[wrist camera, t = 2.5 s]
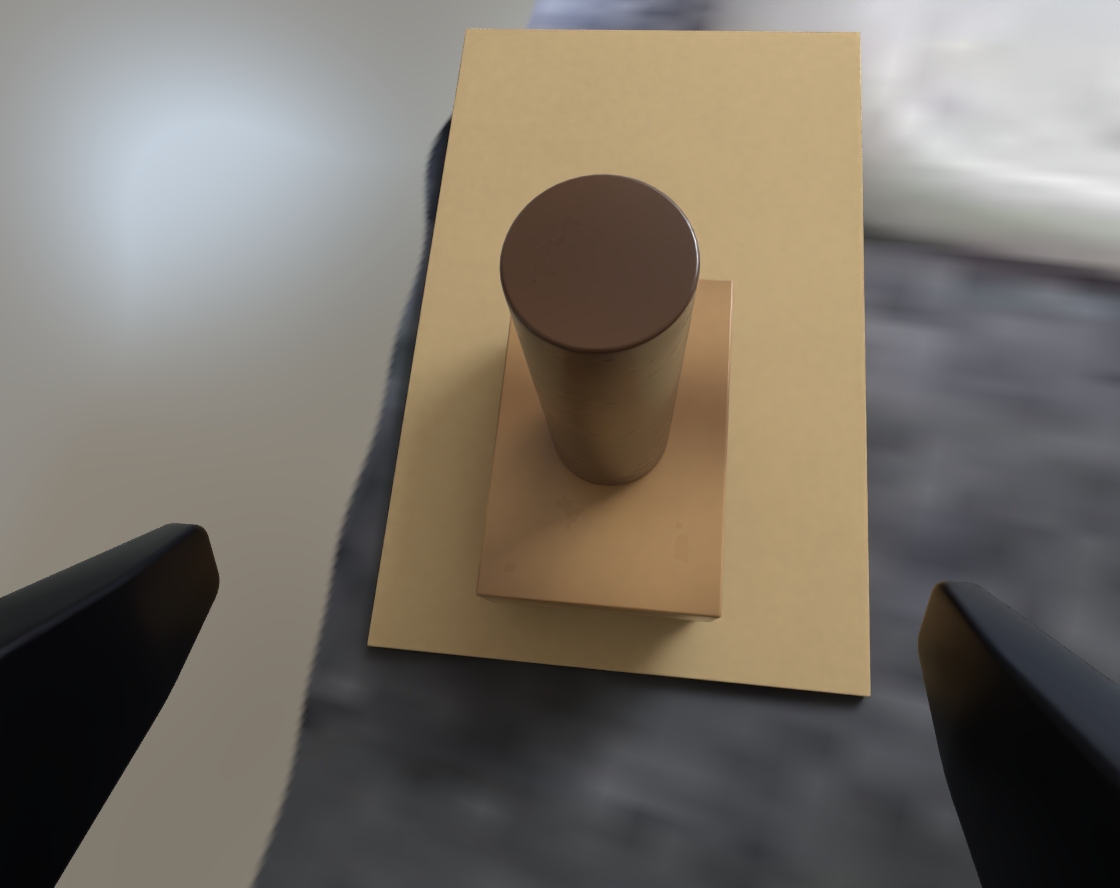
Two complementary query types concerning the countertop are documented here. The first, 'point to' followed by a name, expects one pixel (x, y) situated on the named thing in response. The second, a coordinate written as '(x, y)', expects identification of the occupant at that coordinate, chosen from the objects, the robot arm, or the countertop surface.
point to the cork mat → (756, 345)
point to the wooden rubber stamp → (609, 409)
